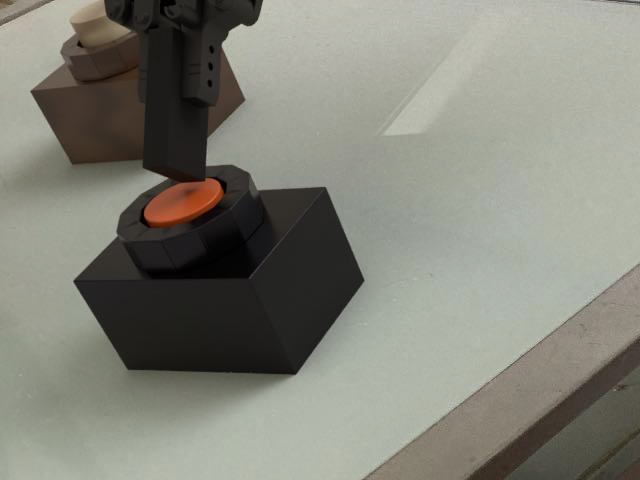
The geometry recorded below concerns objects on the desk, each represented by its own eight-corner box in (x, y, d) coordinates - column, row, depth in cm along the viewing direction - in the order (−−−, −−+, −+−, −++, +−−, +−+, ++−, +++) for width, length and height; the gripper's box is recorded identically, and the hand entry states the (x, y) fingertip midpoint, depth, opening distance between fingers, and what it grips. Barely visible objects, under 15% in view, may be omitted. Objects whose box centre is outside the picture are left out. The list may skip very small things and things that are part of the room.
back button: (72, 53, 80) (57, 25, 78) (105, 27, 82) (91, -1, 81) (116, 48, 78) (102, 19, 77) (148, 21, 80) (135, -7, 79)
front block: (127, 370, 62) (52, 250, 57) (204, 282, 67) (141, 164, 62) (296, 375, 57) (231, 245, 52) (365, 281, 62) (312, 153, 57)
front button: (147, 256, 58) (128, 222, 56) (188, 212, 60) (171, 179, 59) (210, 255, 56) (192, 220, 55) (250, 210, 59) (234, 175, 57)
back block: (71, 165, 85) (15, 66, 80) (131, 110, 90) (81, 14, 84) (189, 157, 80) (137, 51, 75) (246, 100, 85) (200, -3, 80)
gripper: (357, -306, 56) (331, 188, 57) (149, -251, 61) (129, 200, 62) (258, -422, 49) (230, 143, 50) (34, -348, 54) (13, 161, 55)
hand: (174, 174), depth 56 cm, fingers closed
